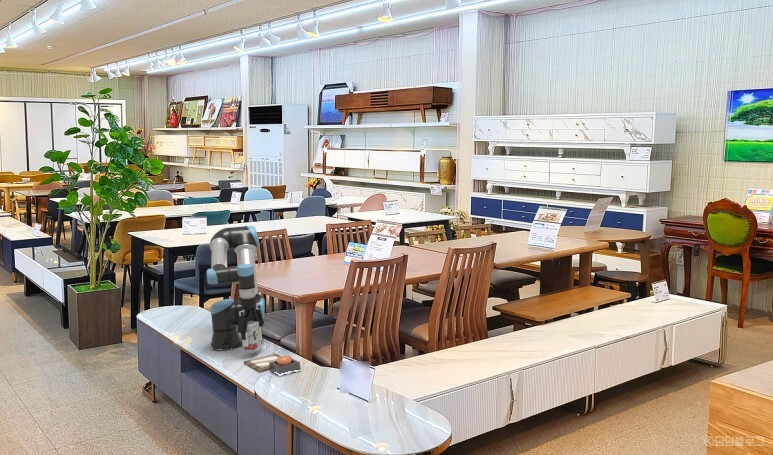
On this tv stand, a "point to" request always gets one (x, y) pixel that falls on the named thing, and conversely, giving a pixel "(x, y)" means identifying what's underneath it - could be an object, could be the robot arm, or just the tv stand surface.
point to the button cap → (283, 360)
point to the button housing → (284, 366)
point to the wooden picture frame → (261, 362)
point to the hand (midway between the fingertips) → (252, 342)
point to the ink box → (253, 335)
